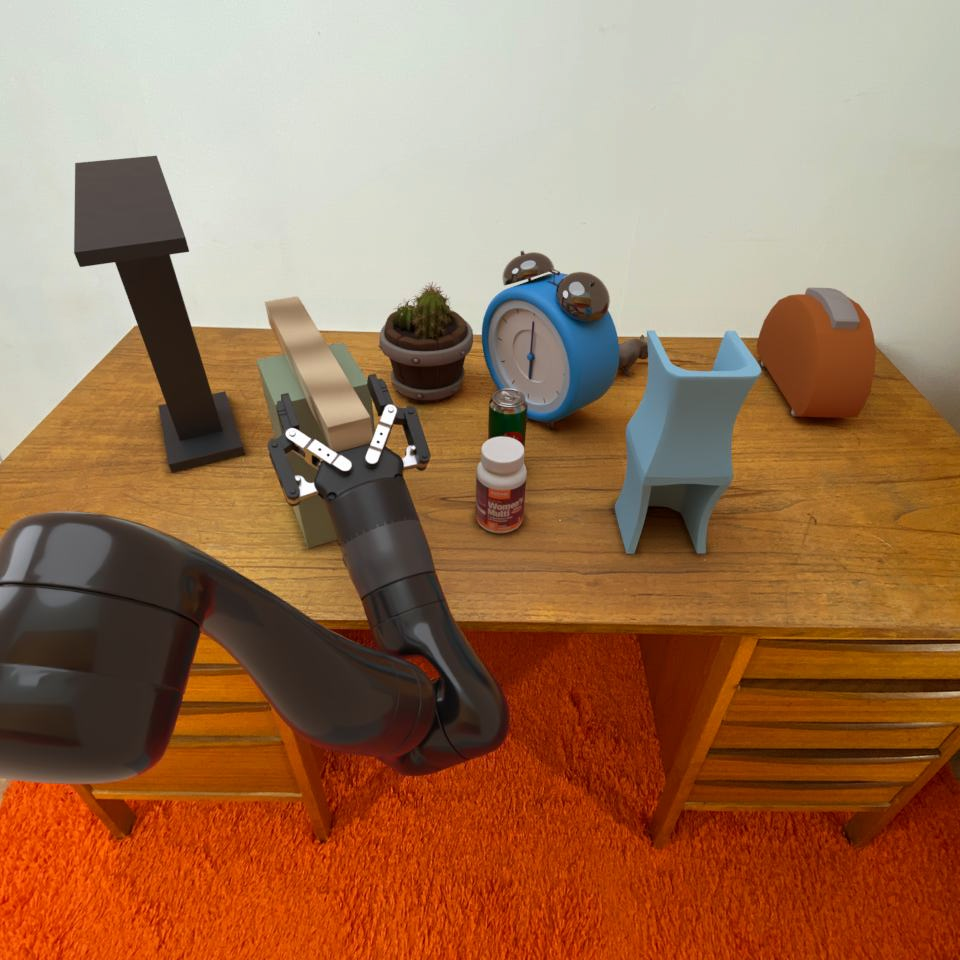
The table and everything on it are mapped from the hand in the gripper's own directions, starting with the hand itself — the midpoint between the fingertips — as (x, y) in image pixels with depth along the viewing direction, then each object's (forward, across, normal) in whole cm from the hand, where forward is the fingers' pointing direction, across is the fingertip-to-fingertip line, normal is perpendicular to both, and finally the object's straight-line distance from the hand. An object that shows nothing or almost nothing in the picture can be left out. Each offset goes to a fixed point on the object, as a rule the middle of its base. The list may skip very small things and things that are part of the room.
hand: (328, 387), depth 62 cm
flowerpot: (+15, -22, +36) cm, 45 cm away
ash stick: (+5, 0, +6) cm, 8 cm away
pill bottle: (-13, -19, +20) cm, 30 cm away
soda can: (-6, -24, +24) cm, 35 cm away
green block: (-5, 0, +25) cm, 25 cm away
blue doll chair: (-22, -36, +15) cm, 45 cm away
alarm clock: (+4, -37, +30) cm, 47 cm away
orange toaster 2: (-7, -79, +23) cm, 82 cm away
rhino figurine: (+7, -55, +32) cm, 64 cm away
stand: (+17, +14, +37) cm, 43 cm away
